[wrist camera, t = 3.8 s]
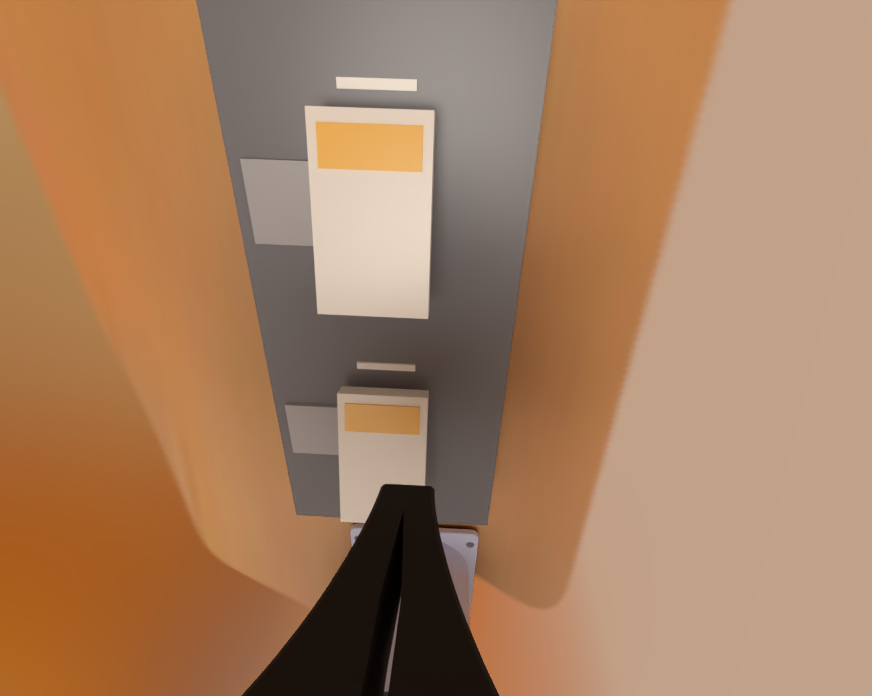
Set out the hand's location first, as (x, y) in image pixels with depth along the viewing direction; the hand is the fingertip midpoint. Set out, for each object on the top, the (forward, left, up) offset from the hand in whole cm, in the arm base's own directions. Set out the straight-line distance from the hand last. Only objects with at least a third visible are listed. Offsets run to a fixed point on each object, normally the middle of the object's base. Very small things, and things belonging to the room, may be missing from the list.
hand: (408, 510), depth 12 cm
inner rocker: (-4, +2, -6) cm, 7 cm away
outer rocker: (+6, +2, -6) cm, 9 cm away
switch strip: (+1, +2, -10) cm, 10 cm away
